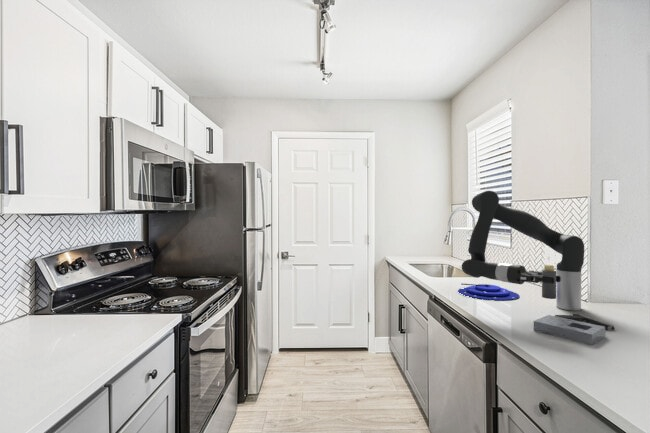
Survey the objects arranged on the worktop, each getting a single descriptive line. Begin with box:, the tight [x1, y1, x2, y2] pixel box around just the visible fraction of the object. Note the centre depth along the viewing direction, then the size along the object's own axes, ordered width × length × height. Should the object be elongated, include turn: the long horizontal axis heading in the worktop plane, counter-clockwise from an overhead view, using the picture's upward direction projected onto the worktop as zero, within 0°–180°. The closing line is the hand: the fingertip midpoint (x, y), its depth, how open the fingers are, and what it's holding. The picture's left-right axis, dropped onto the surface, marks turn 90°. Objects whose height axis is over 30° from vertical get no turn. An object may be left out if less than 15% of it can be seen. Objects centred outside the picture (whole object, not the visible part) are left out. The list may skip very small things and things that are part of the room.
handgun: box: [554, 313, 616, 331], centre depth 137 cm, size 2×16×12 cm
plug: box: [541, 264, 557, 300], centre depth 132 cm, size 4×4×12 cm
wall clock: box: [457, 283, 521, 302], centre depth 189 cm, size 30×6×30 cm
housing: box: [533, 314, 606, 346], centre depth 127 cm, size 13×18×4 cm
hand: (557, 279), depth 129 cm, fingers closed on plug, 4 cm apart
